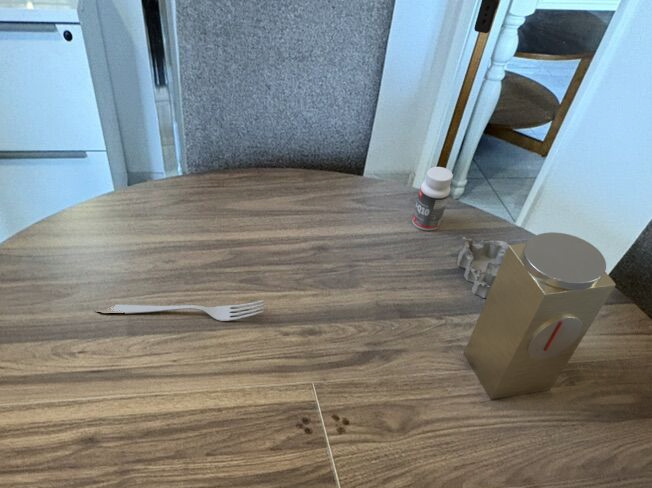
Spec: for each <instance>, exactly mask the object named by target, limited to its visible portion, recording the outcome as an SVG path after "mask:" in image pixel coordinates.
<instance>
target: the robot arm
mask: <svg viewBox="0 0 652 488" xmlns="http://www.w3.org/2000/svg"><path fill="white" fill-rule="evenodd" d="M500 1H501V0H481V1H480V5H479V9H478V12H477V16H476V20H475V23H474V28H473V29H474V31H475V32H476V33H481V34H488V33H489V32H490V31H491V28H492V24H493V21H494V18H495V14H496V12H497V10H498V7H499V4H500Z"/></svg>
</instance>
